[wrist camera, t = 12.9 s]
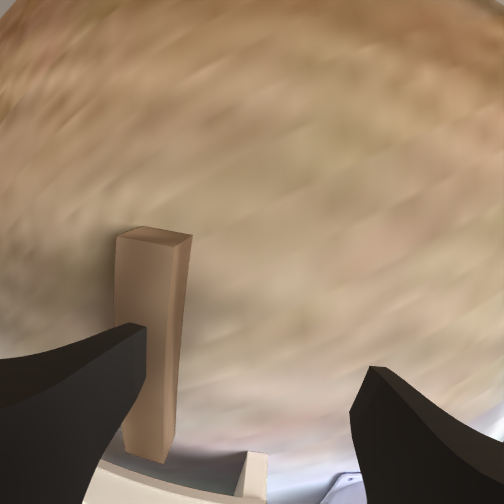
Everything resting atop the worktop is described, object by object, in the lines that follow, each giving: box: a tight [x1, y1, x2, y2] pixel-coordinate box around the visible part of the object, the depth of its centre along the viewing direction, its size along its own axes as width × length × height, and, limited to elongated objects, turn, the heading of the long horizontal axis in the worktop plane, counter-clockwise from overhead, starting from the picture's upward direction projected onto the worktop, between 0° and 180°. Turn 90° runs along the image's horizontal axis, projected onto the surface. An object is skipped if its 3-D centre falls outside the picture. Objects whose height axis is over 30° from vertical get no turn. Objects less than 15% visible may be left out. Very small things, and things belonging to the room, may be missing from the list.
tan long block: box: [114, 226, 193, 464], centre depth 17 cm, size 3×16×4 cm, turn 170°
